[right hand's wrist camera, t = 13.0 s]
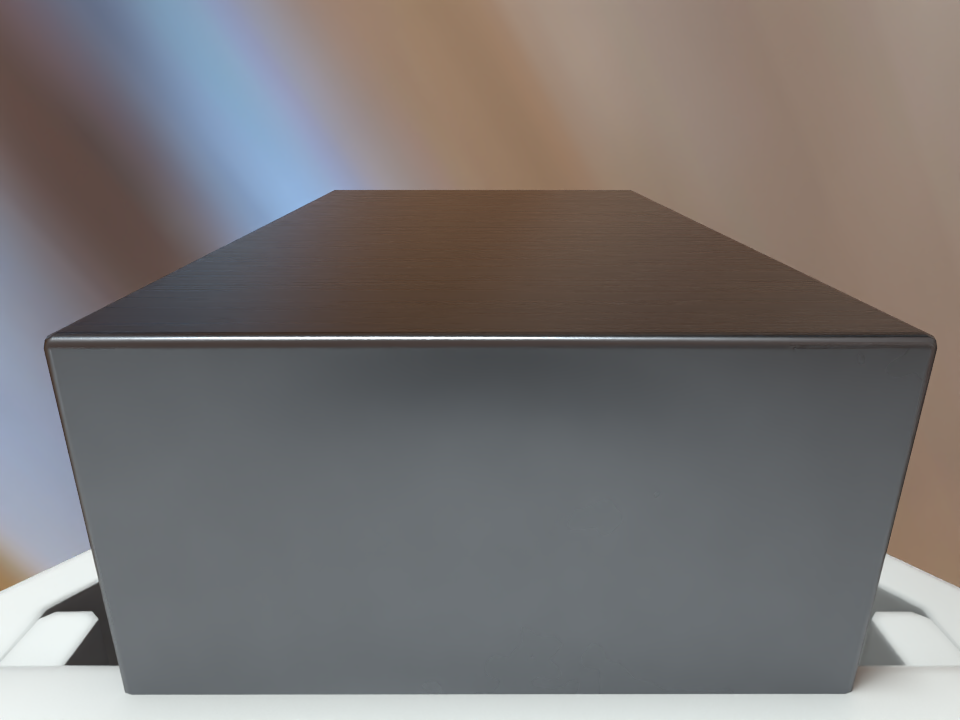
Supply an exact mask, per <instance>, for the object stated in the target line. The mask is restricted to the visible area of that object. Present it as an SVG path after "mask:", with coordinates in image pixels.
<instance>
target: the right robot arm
mask: <svg viewBox="0 0 960 720" xmlns="http://www.w3.org/2000/svg"><path fill="white" fill-rule="evenodd" d="M0 720H960V588H959V587H957V586H955V585H953V584H951V583H948V582H946V581H944V580H942V579H940V578H938V577H936V576H933V575H931V574H929V573H927V572H925V571H923V570H921V569H918V568H916V567H914V566H912V565H910V564H908V563H906V562H903V561H901V560H899V559H897V558H895V557H893V556H891V555H888V554H886V556H885V560H884V564H883V568H882V572H881V576H880V580H879V584H878V588H877V592H876V596H875V600H874V604H873V608H872V612H871V616H870V620H869V624H868V628H867V632H866V636H865V640H864V644H863V648H862V652H861V656H860V660H859V664H858V668H857V672H856V676H855V680H854V684H853V688H852V692H849V693H847V694H365V695H131V694H128V693H125V690H124V686H123V682H122V677H121V673H120V669H119V665H118V660H117V656H116V652H115V648H114V644H113V639H112V635H111V631H110V627H109V622H108V618H107V614H106V610H105V605H104V601H103V597H102V593H101V589H100V584H99V580H98V576H97V572H96V567H95V563H94V559H93V555H92V550H91V549H90V550H88V551H86V552H84V553H81V554H79V555H77V556H75V557H73V558H71V559H69V560H67V561H64V562H62V563H60V564H58V565H56V566H54V567H52V568H50V569H47V570H45V571H43V572H41V573H39V574H37V575H35V576H33V577H30V578H28V579H26V580H24V581H22V582H20V583H18V584H16V585H13V586H11V587H9V588H7V589H5V590H3V591H1V592H0Z"/></svg>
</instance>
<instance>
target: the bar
mask: <svg viewBox="0 0 960 720" xmlns="http://www.w3.org/2000/svg"><path fill="white" fill-rule="evenodd" d="M44 351H45V356H46V360H47V364H48V368H49V373H50V377H51V381H52V385H53V390H54V394H55V398H56V402H57V406H58V411H59V415H60V419H61V423H62V428H63V432H64V436H65V440H66V445H67V449H68V453H69V457H70V462H71V466H72V470H73V474H74V478H75V483H76V487H77V491H78V495H79V500H80V504H81V508H82V512H83V517H84V521H85V525H86V529H87V533H88V538H89V542H90V546H91V550H92V555H93V559H94V563H95V567H96V572H97V576H98V580H99V584H100V589H101V593H102V597H103V601H104V605H105V610H106V614H107V618H108V622H109V627H110V631H111V635H112V639H113V644H114V648H115V652H116V656H117V660H118V665H119V669H120V673H121V677H122V682H123V686H124V690H125V693H128V694H131V695H365V694H847V693H849V692H852V688H853V684H854V680H855V676H856V672H857V668H858V664H859V660H860V656H861V652H862V648H863V644H864V640H865V636H866V632H867V628H868V624H869V620H870V616H871V612H872V608H873V604H874V600H875V596H876V592H877V588H878V584H879V580H880V576H881V572H882V568H883V564H884V560H885V556H886V552H887V548H888V544H889V540H890V536H891V532H892V528H893V524H894V520H895V515H896V511H897V507H898V503H899V499H900V495H901V491H902V487H903V483H904V479H905V475H906V471H907V467H908V463H909V459H910V455H911V451H912V447H913V443H914V439H915V435H916V431H917V427H918V423H919V419H920V415H921V411H922V407H923V403H924V399H925V395H926V391H927V387H928V383H929V379H930V375H931V371H932V367H933V363H934V359H935V355H936V351H937V344H936V339H935V338H934V337H933V336H932V335H930V334H928V333H926V332H924V331H922V330H920V329H918V328H916V327H914V326H911V325H909V324H907V323H905V322H903V321H901V320H899V319H897V318H895V317H893V316H891V315H889V314H887V313H884V312H882V311H880V310H878V309H876V308H874V307H872V306H870V305H868V304H866V303H864V302H862V301H860V300H858V299H855V298H853V297H851V296H849V295H847V294H845V293H843V292H841V291H839V290H837V289H835V288H833V287H831V286H828V285H826V284H824V283H822V282H820V281H818V280H816V279H814V278H812V277H810V276H808V275H806V274H804V273H802V272H799V271H797V270H795V269H793V268H791V267H789V266H787V265H785V264H783V263H781V262H779V261H777V260H775V259H772V258H770V257H768V256H766V255H764V254H762V253H760V252H758V251H756V250H754V249H752V248H750V247H748V246H745V245H743V244H741V243H739V242H737V241H735V240H733V239H731V238H729V237H727V236H725V235H723V234H721V233H719V232H716V231H714V230H712V229H710V228H708V227H706V226H704V225H702V224H700V223H698V222H696V221H694V220H692V219H689V218H687V217H685V216H683V215H681V214H679V213H677V212H675V211H673V210H671V209H669V208H667V207H665V206H663V205H660V204H658V203H656V202H654V201H652V200H650V199H648V198H646V197H644V196H642V195H640V194H638V193H636V192H633V191H631V190H334V191H332V192H330V193H328V194H326V195H324V196H322V197H320V198H318V199H316V200H314V201H312V202H310V203H308V204H306V205H304V206H302V207H300V208H298V209H296V210H294V211H293V212H291V213H289V214H287V215H285V216H283V217H281V218H279V219H277V220H275V221H273V222H271V223H269V224H267V225H265V226H263V227H261V228H259V229H257V230H255V231H253V232H251V233H249V234H247V235H245V236H243V237H241V238H239V239H237V240H235V241H233V242H232V243H230V244H228V245H226V246H224V247H222V248H220V249H218V250H216V251H214V252H212V253H210V254H208V255H206V256H204V257H202V258H200V259H198V260H196V261H194V262H192V263H190V264H188V265H186V266H184V267H182V268H180V269H178V270H176V271H174V272H172V273H171V274H169V275H167V276H165V277H163V278H161V279H159V280H157V281H155V282H153V283H151V284H149V285H147V286H145V287H143V288H141V289H139V290H137V291H135V292H133V293H131V294H129V295H127V296H125V297H123V298H121V299H119V300H117V301H115V302H113V303H111V304H110V305H108V306H106V307H104V308H102V309H100V310H98V311H96V312H94V313H92V314H90V315H88V316H86V317H84V318H82V319H80V320H78V321H76V322H74V323H72V324H70V325H68V326H66V327H64V328H62V329H60V330H58V331H56V332H54V333H52V334H50V335H49V336H47V338H46V339H45V343H44Z"/></svg>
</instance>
